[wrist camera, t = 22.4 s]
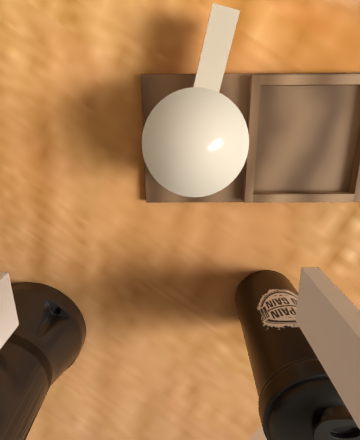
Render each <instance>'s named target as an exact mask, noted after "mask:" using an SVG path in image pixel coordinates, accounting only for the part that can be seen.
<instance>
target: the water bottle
mask: <svg viewBox="0 0 360 440" xmlns="http://www.w3.org/2000/svg"><path fill="white" fill-rule="evenodd" d="M297 300H298V292H297V291H296V289H295V288H294V287H293V285H292V284H291V282H290V281H289V280H288V279H287V278H286V277H285V276H284V275H282V274H280V273H278V272H275V271H268V270H266V271H259V272H255V273H253V274H251V275H249V276H248V277H246V278H245V279H244V280H243V281H242V282H241V283H240V285H239V286H238V288H237V291H236V295H235V301H236V306H237V310H238V314H239V318H240V322H241V326H242V330H243V334H244V338H245V343H246V347H247V351H248V355H249V359H250V363H251V367H252V371H253V376H254V380H255V384H256V388H257V392H258V396H259V415H260V419H261V423H262V427H263V431H264V434H265V436H266V438H267V440H360V429H359V428H358V426H357V424H356V423H355V421H354V419H353V417H352V416H351V414H350V412H349V411H348V409H347V407H346V405H345V404H344V402H343V400H342V399H341V397H340V395H339V394H338V392H337V390H336V388H335V387H334V385H333V383H332V382H331V380H330V378H329V376H328V375H327V373H326V371H325V370H324V368H323V366H322V365H321V363H320V361H319V359H318V358H317V356H316V354H315V353H314V351H313V349H312V347H311V346H310V344H309V342H308V341H307V339H306V337H305V336H304V334H303V332H302V330H301V329H300V327H299V325H298V324H297V322H296V320H295V318H296V309H297Z"/></svg>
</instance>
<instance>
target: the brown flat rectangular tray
mask: <svg viewBox="0 0 360 440" xmlns="http://www.w3.org/2000/svg"><path fill="white" fill-rule="evenodd" d="M195 76H196V74H141V85H142V110H143V129H144V125H145V123H146V120H147V118H148V116H149V115H150V113H151V111H152V110H153V109H154V107H155V106H156V105H157V104H158V103H159V102H160V101H161V100H162V99H164V98H165V97H166V96H168V95H170V94H171V93H173V92H175V91H178V90H181V89H185V88H191V87H193V85H194V81H195ZM219 93H221V94H223V95H224V96H226V97H227V98H229V99H230V100H231V101H232V102H233V103H234V104H235V105H236V106H237V108H238V109H239V110H240V112H241V113H242V115H243V117H244V119H245V122H246V125H247V128H248V134H249V149H248V154H247V158H246V161H245V164H244V166H243V168H242V170H241V171H240V173H239V174H238V176H237V177H236V178H235V179H234V180H233V181H232V182H231V183H230V184H229V185H228V186H227V187H225V188H224V189H222V190H220V191H218V192H216V193H214V194H211V195H208V196H204V197H186V196H181V195H178V194H175V193H173V192H171V191H169V190H167V189H166V188H164V187H163V186H162V185H160V184H159V183H158V182H157V181H156V180H155V179H154V177H153V176H152V175H151V173H150V171H149V170H148V168H147V166H146V163H145V184H146V202H245V203H252V202H360V73H277V74H224V75H223V79H222V83H221V87H220V91H219Z"/></svg>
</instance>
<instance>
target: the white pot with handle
mask: <svg viewBox="0 0 360 440" xmlns="http://www.w3.org/2000/svg"><path fill="white" fill-rule="evenodd" d="M239 12H240V11H239V10H236V9H232V8H228V7H225V6H221V5H218V4H214V3H213V5H212V8H211V12H210V15H209V20H208V24H207V28H206V33H205V37H204V42H203V46H202V50H201V55H200V59H199V63H198V68H197V72H196V76H195V81H194V85H193V87H191V88H185V89H181V90H178V91H175V92H173V93H171V94H170V95H168V96H166V97H165V98H164V99H162V100H161V101H160V102H159V103H158V104H157V105H156V106H155V107H154V109H153V110H152V111H151V113H150V115H149V116H148V118H147V120H146V123H145V125H144V129H143V134H142V152H143V157H144V161H145V163H146V166H147V168H148V170H149V171H150V173H151V175H152V176H153V177H154V179H155V180H156V181H157V182H158V183H159V184H160V185H162V186H163V187H164V188H166V189H167V190H169V191H171V192H173V193H175V194H178V195H181V196H186V197H204V196H208V195H211V194H214V193H216V192H218V191H220V190H222V189H224V188H225V187H227V186H228V185H229V184H230V183H231V182H232V181H233V180H234V179H235V178H236V177H237V176H238V174H239V173H240V171H241V170H242V168H243V166H244V164H245V161H246V158H247V154H248V149H249V134H248V128H247V125H246V122H245V119H244V117H243V115H242V113H241V112H240V110H239V109H238V108H237V106H236V105H235V104H234V103H233V102H232V101H231V100H230V99H229V98H227V97H226V96H224V95H223V94H221V93H219V91H220V87H221V83H222V79H223V75H224V71H225V67H226V63H227V60H228V56H229V52H230V48H231V44H232V40H233V36H234V32H235V28H236V24H237V20H238V16H239Z"/></svg>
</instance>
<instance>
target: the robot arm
mask: <svg viewBox="0 0 360 440" xmlns="http://www.w3.org/2000/svg"><path fill="white" fill-rule="evenodd" d="M295 320H296V322H297V324H298V325H299V327H300V329H301V330H302V332H303V334H304V336H305V337H306V339H307V341H308V342H309V344H310V346H311V347H312V349H313V351H314V353H315V354H316V356H317V358H318V359H319V361H320V363H321V365H322V366H323V368H324V370H325V371H326V373H327V375H328V376H329V378H330V380H331V382H332V383H333V385H334V387H335V388H336V390H337V392H338V394H339V395H340V397H341V399H342V400H343V402H344V404H345V405H346V407H347V409H348V411H349V412H350V414H351V416H352V417H353V419H354V421H355V423H356V424H357V426H358V428H359V429H360V311H359V310H358V309H357V307H356V306H355V305H354V304H353V303H352V302H351V301H350V300H349V299H348V298H347V297H346V296H345V295H344V294H343V293H342V292H341V291H340V289H339V288H338V287H337V286H336V285H335V284H334V283H333V282H332V281H331V280H330V279H329V278H328V277H327V276H326V275H325V274H324V273H323V272H322V270H321V269H320V268H319V267H301V275H300V283H299V292H298V300H297V309H296V318H295ZM85 336H86V327H85V322H84V319H83V316H82V314H81V312H80V310H79V309H78V307H77V306H76V305H75V304H74V302H73V301H72V300H71V299H69V298H68V297H67V296H66V295H64V294H63V293H61V292H60V291H58V290H56V289H54V288H52V287H49V286H46V285H42V284H37V283H19V284H14V285H11V282H10V277H9V272H0V440H26V437H27V435H28V433H29V431H30V429H31V427H32V424H33V422H34V420H35V418H36V416H37V414H38V411H39V409H40V407H41V405H42V403H43V401H44V398H45V396H46V394H47V392H48V390H49V388H50V386H51V385H52V384H53V383H54V382H55V381H56V379H57V378H58V377H59V376H60V375H61V374H62V373H63V372H64V371H65V370H66V369H68V368H69V367H70V366H71V365H72V364H73V363H74V361H75V360H76V358H77V357H78V355H79V353H80V351H81V348H82V346H83V344H84V341H85Z"/></svg>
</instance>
